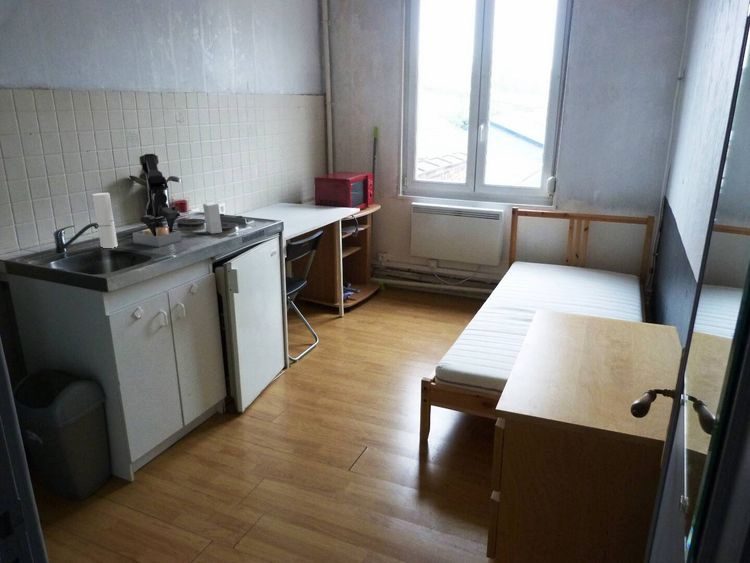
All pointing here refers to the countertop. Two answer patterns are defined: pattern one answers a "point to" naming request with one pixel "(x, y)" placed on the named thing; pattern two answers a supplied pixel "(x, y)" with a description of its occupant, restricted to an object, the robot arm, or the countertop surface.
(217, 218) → the skincare box
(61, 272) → the countertop surface
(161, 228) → the terracotta cylinder
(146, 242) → the tote
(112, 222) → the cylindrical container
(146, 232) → the beech cube
